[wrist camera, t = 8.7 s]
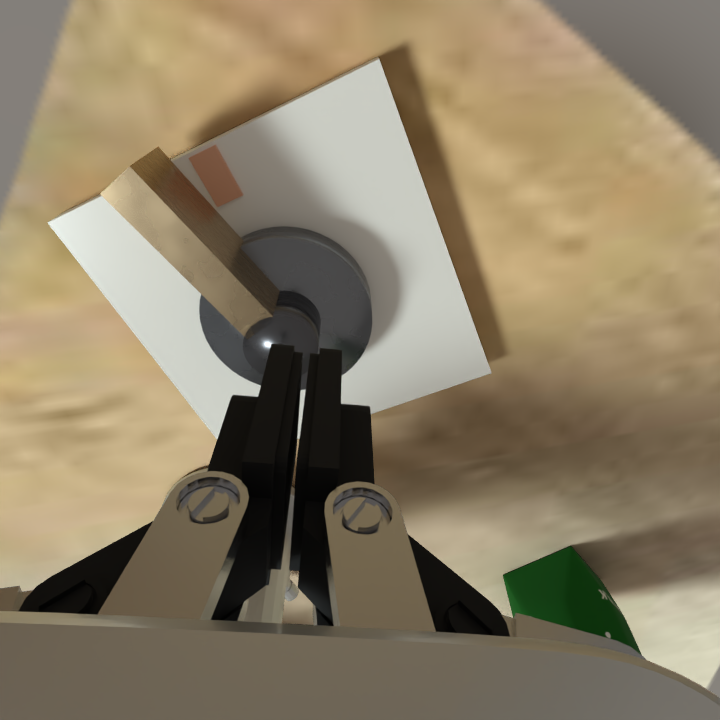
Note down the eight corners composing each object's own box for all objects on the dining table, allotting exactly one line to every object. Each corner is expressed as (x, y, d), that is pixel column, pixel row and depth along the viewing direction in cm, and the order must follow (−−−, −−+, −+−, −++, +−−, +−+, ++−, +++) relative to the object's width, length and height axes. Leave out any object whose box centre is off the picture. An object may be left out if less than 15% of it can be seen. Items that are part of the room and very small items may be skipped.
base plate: (486, 360, 36) (492, 374, 35) (237, 447, 41) (233, 462, 39) (377, 56, 26) (379, 59, 25) (60, 214, 30) (45, 224, 29)
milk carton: (489, 573, 50) (556, 853, 33) (577, 535, 47) (700, 822, 30) (532, 614, 54) (611, 883, 37) (615, 581, 51) (743, 858, 34)
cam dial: (403, 319, 33) (410, 364, 29) (282, 396, 36) (272, 446, 32) (220, 90, 26) (194, 105, 21) (89, 211, 29) (45, 245, 25)
